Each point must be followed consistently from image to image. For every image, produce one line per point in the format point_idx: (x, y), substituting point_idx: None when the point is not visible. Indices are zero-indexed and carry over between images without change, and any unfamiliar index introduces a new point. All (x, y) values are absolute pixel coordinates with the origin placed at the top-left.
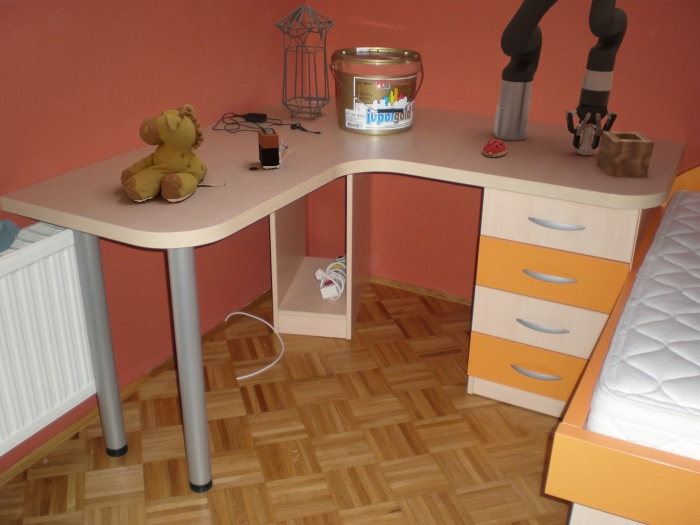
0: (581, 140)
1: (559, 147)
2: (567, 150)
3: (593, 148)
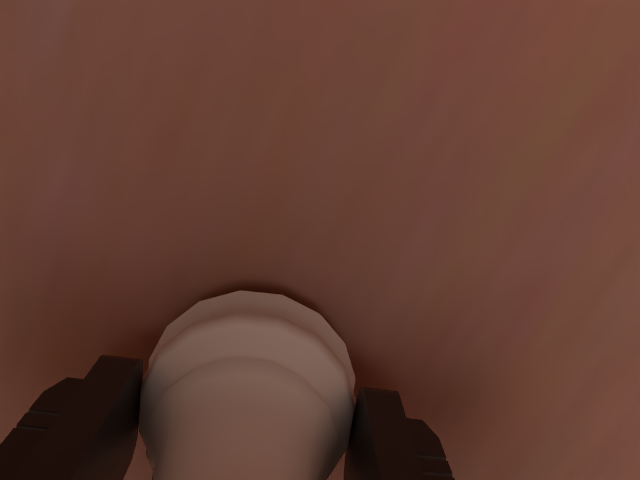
0: (153, 477)
1: (31, 14)
2: (108, 175)
3: (344, 474)
